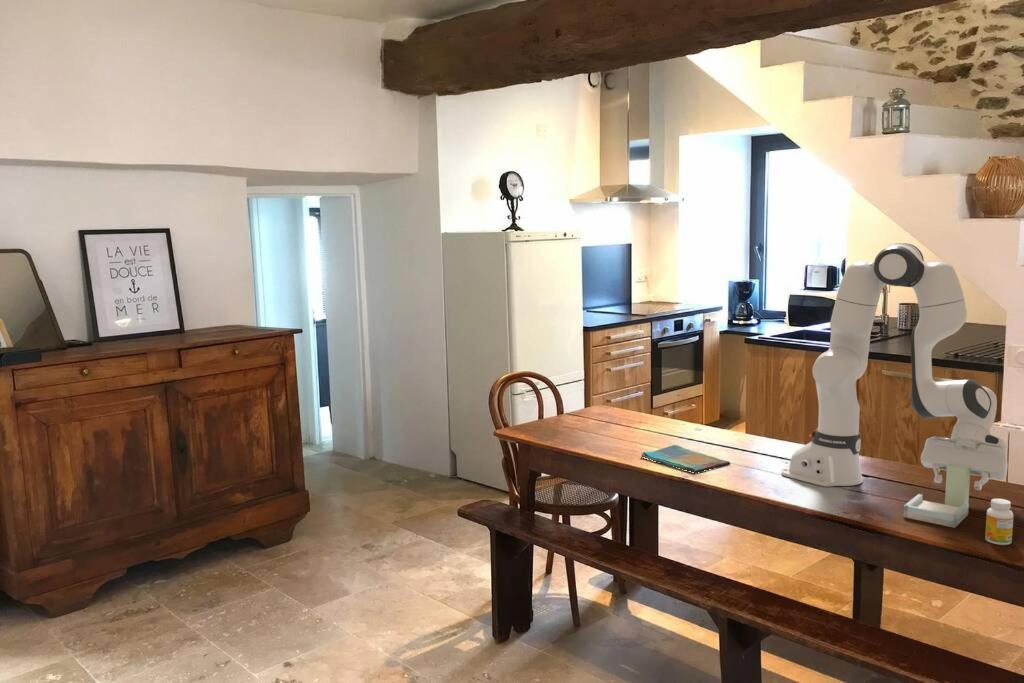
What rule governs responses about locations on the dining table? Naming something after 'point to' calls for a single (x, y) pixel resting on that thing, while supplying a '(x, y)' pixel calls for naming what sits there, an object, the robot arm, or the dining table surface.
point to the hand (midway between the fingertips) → (956, 485)
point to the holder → (935, 512)
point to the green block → (957, 484)
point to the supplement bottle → (999, 522)
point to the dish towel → (685, 459)
